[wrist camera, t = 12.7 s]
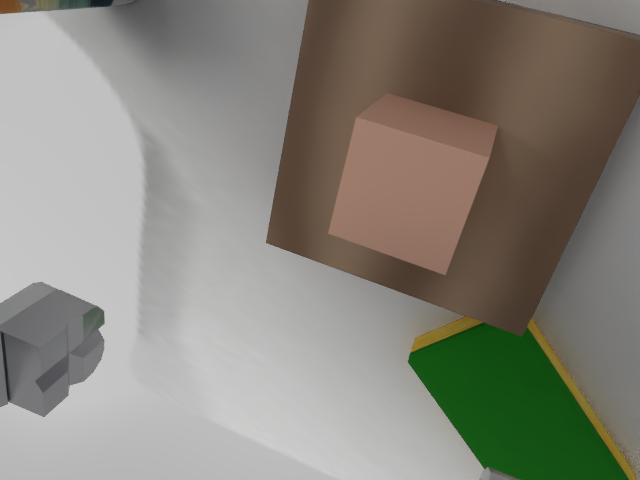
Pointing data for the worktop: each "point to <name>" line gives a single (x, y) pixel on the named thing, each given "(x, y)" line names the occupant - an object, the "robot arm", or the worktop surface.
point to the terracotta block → (411, 180)
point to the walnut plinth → (472, 101)
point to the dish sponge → (515, 403)
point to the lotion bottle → (54, 5)
